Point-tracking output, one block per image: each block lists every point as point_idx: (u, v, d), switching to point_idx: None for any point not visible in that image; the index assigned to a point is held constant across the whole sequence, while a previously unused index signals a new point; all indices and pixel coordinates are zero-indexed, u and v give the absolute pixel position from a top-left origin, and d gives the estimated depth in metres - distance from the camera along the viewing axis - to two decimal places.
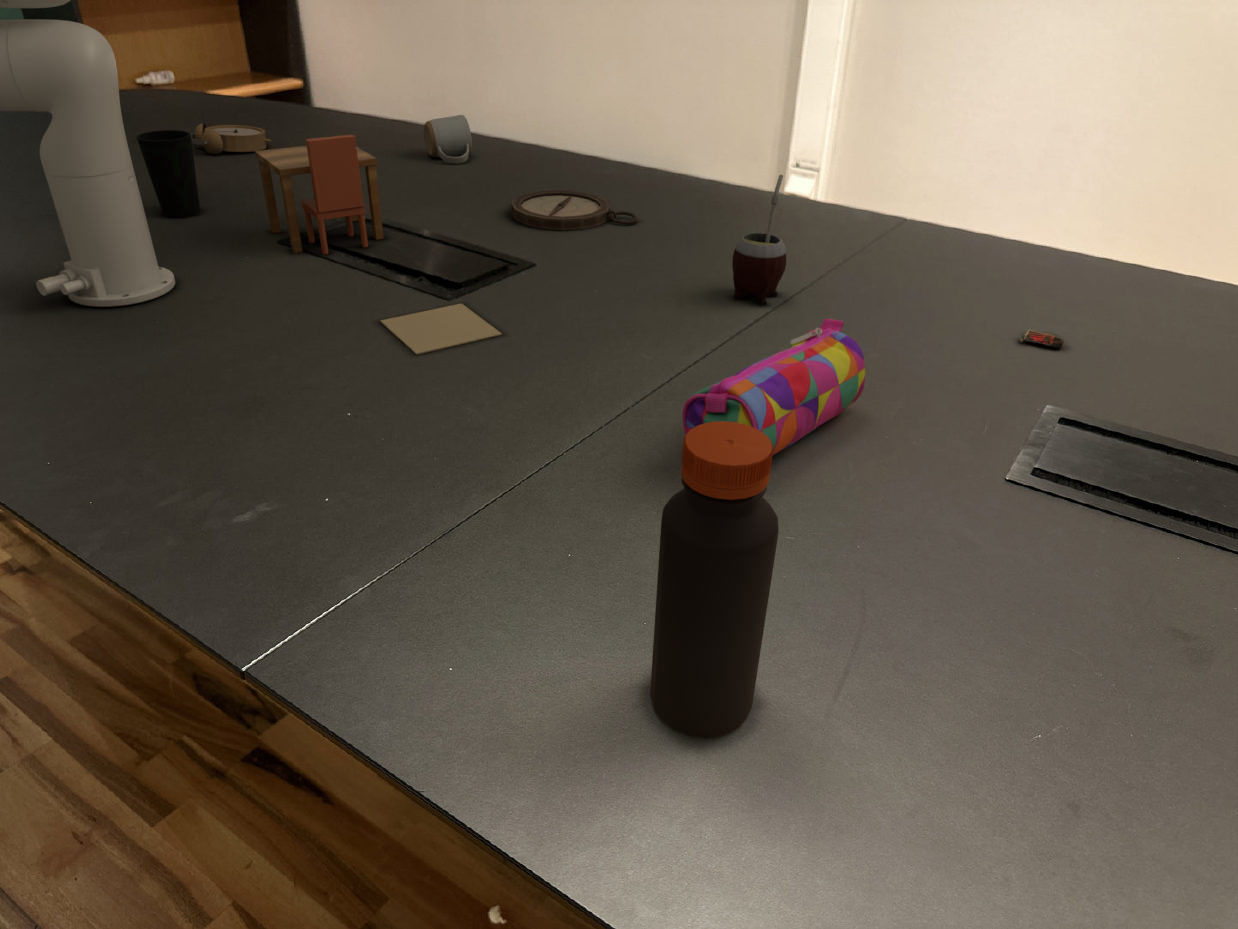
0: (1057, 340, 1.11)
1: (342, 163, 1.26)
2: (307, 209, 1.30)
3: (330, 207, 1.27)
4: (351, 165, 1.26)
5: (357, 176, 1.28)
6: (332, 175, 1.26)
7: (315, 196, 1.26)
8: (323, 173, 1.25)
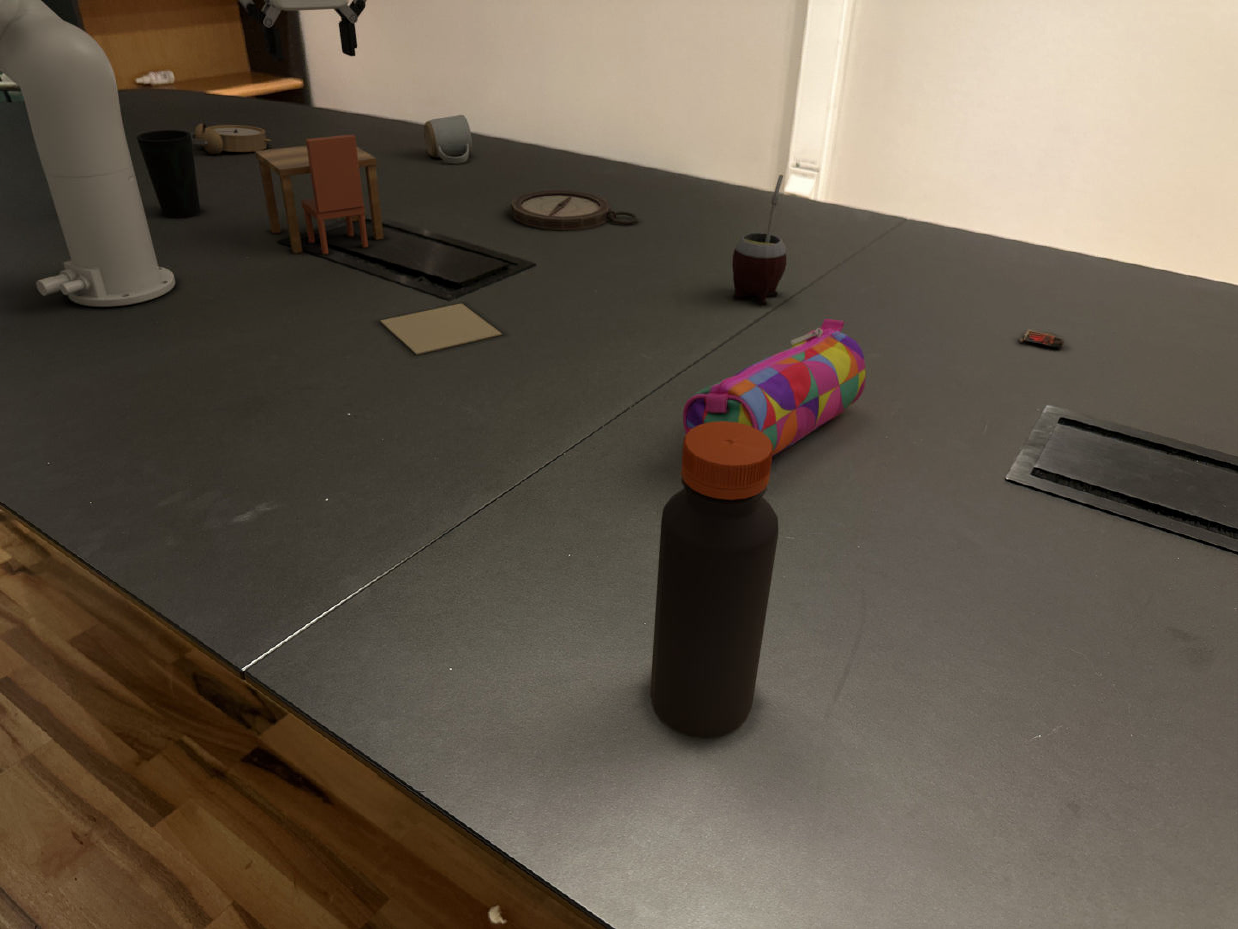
0: (1057, 340, 1.11)
1: (342, 163, 1.26)
2: (307, 209, 1.30)
3: (330, 207, 1.27)
4: (351, 165, 1.26)
5: (357, 176, 1.28)
6: (332, 175, 1.26)
7: (315, 196, 1.26)
8: (323, 173, 1.25)
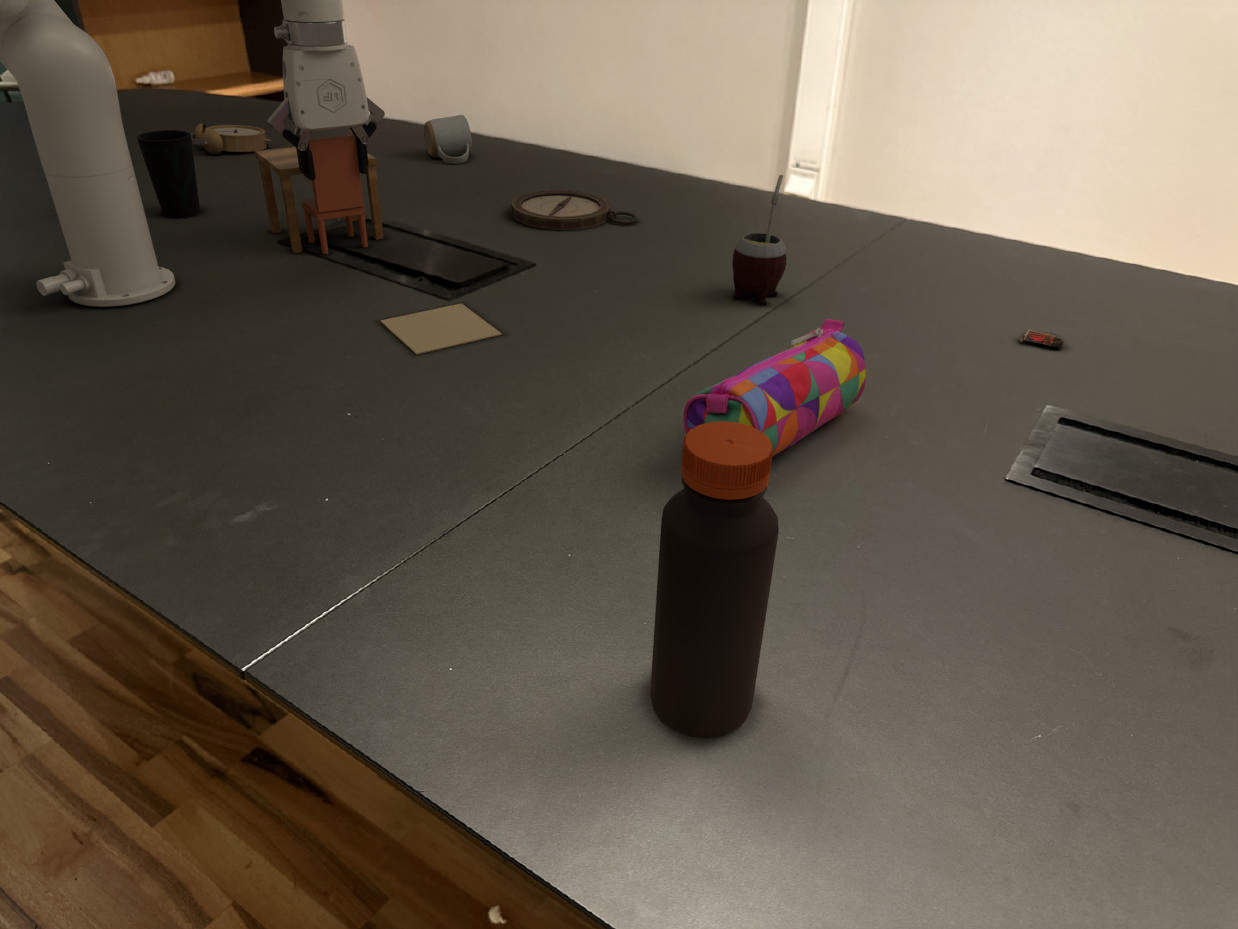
0: (1057, 340, 1.11)
1: (342, 163, 1.26)
2: (307, 209, 1.30)
3: (330, 207, 1.27)
4: (351, 165, 1.26)
5: (357, 176, 1.28)
6: (332, 175, 1.26)
7: (315, 196, 1.26)
8: (323, 173, 1.25)
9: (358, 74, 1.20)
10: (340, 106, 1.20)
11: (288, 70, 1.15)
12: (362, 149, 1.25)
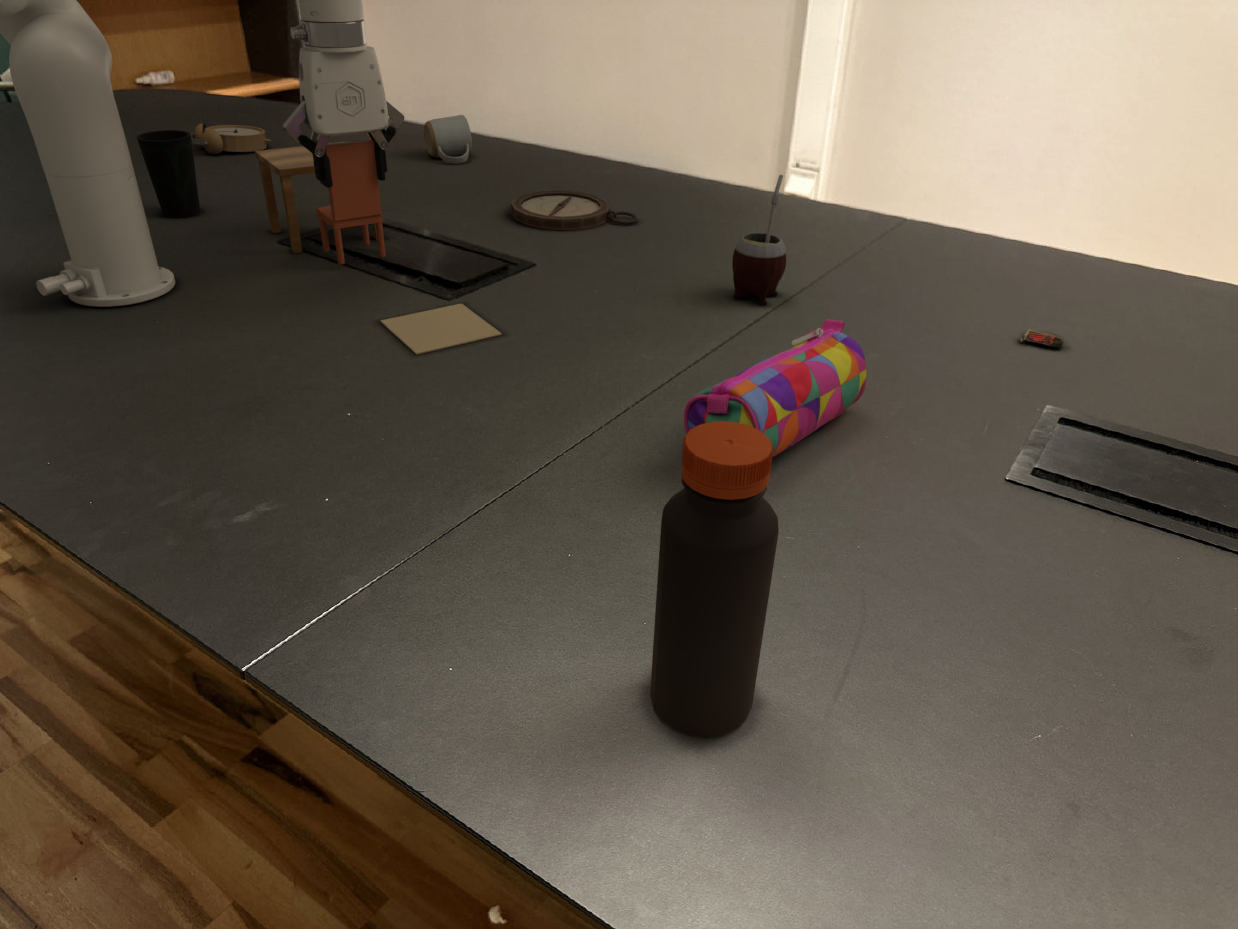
0: (1057, 340, 1.11)
1: (360, 170, 1.20)
2: (322, 217, 1.25)
3: (347, 215, 1.22)
4: (369, 171, 1.21)
5: (375, 183, 1.22)
6: (350, 182, 1.20)
7: (332, 204, 1.21)
8: (340, 180, 1.19)
9: (377, 77, 1.14)
10: (359, 110, 1.15)
11: (305, 72, 1.10)
12: (381, 155, 1.20)
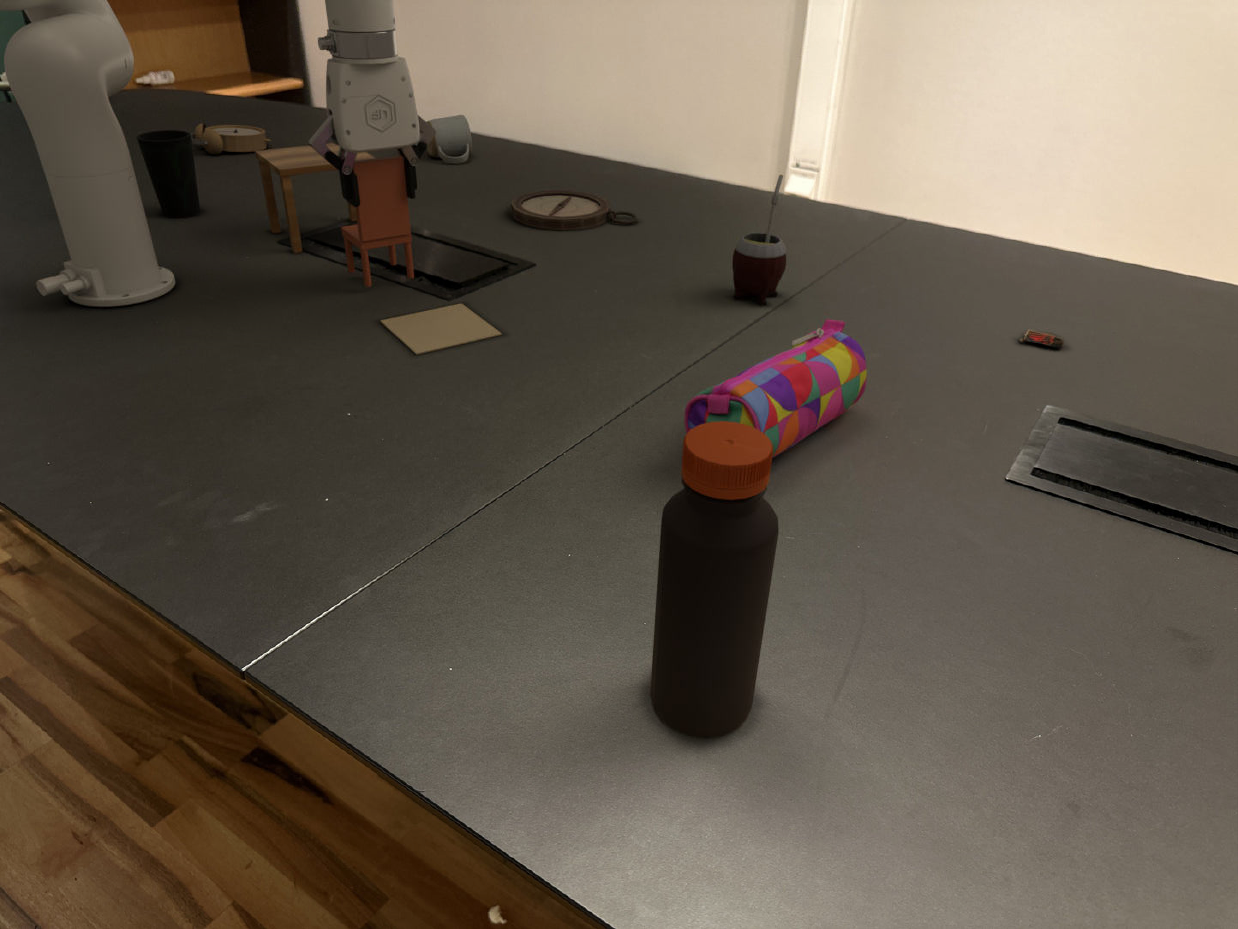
0: (1057, 340, 1.11)
1: (389, 188, 1.13)
2: (348, 237, 1.18)
3: (375, 235, 1.15)
4: (398, 189, 1.14)
5: (405, 201, 1.15)
6: (378, 201, 1.13)
7: (359, 224, 1.14)
8: (368, 198, 1.12)
9: (409, 89, 1.07)
10: (389, 125, 1.08)
11: (333, 85, 1.03)
12: (411, 172, 1.13)
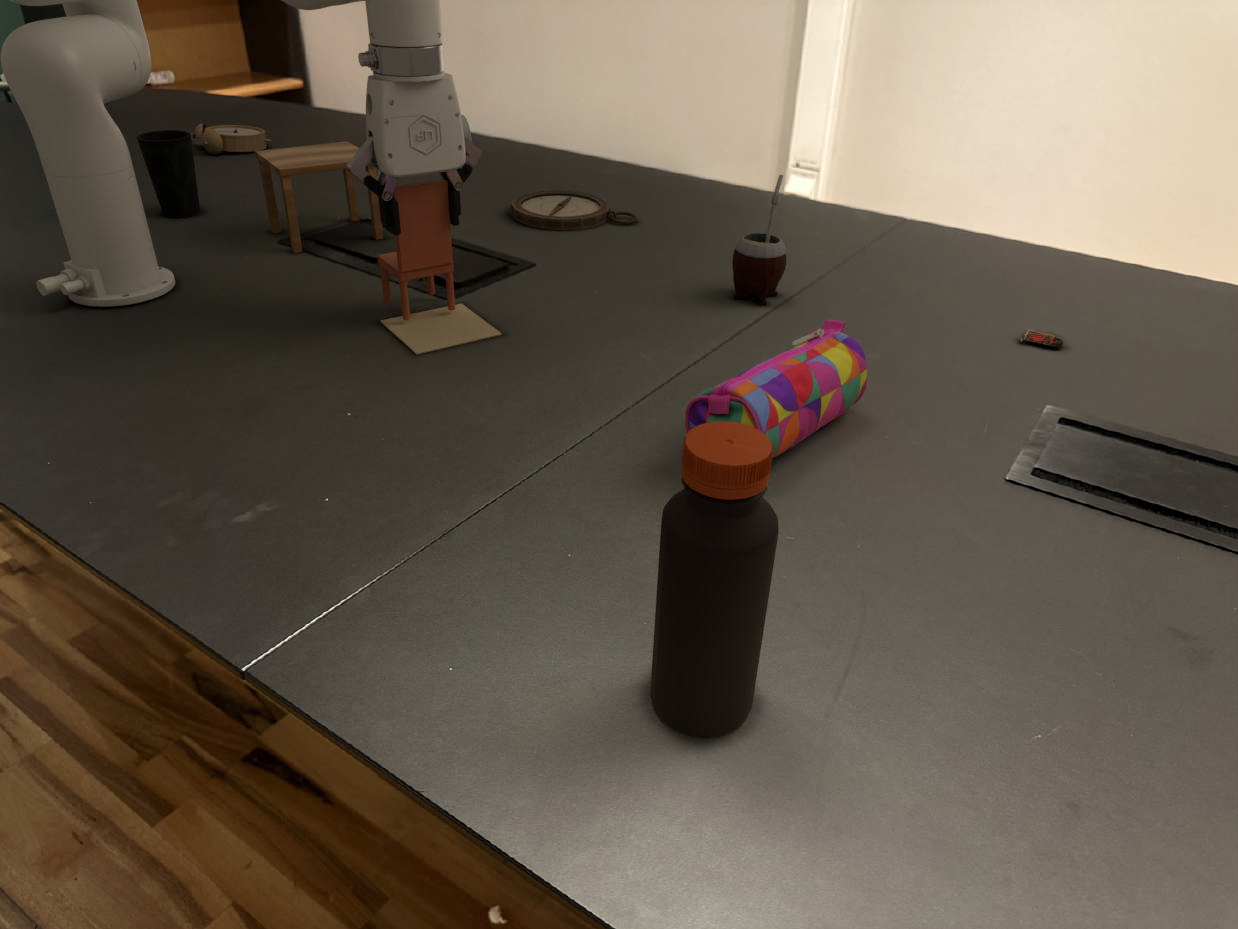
0: (1057, 340, 1.11)
1: (431, 214, 1.04)
2: (385, 266, 1.09)
3: (415, 265, 1.06)
4: (441, 215, 1.05)
5: (447, 228, 1.06)
6: (419, 228, 1.04)
7: (398, 253, 1.05)
8: (409, 226, 1.04)
9: (456, 109, 0.98)
10: (434, 147, 0.99)
11: (375, 105, 0.94)
12: (455, 197, 1.04)
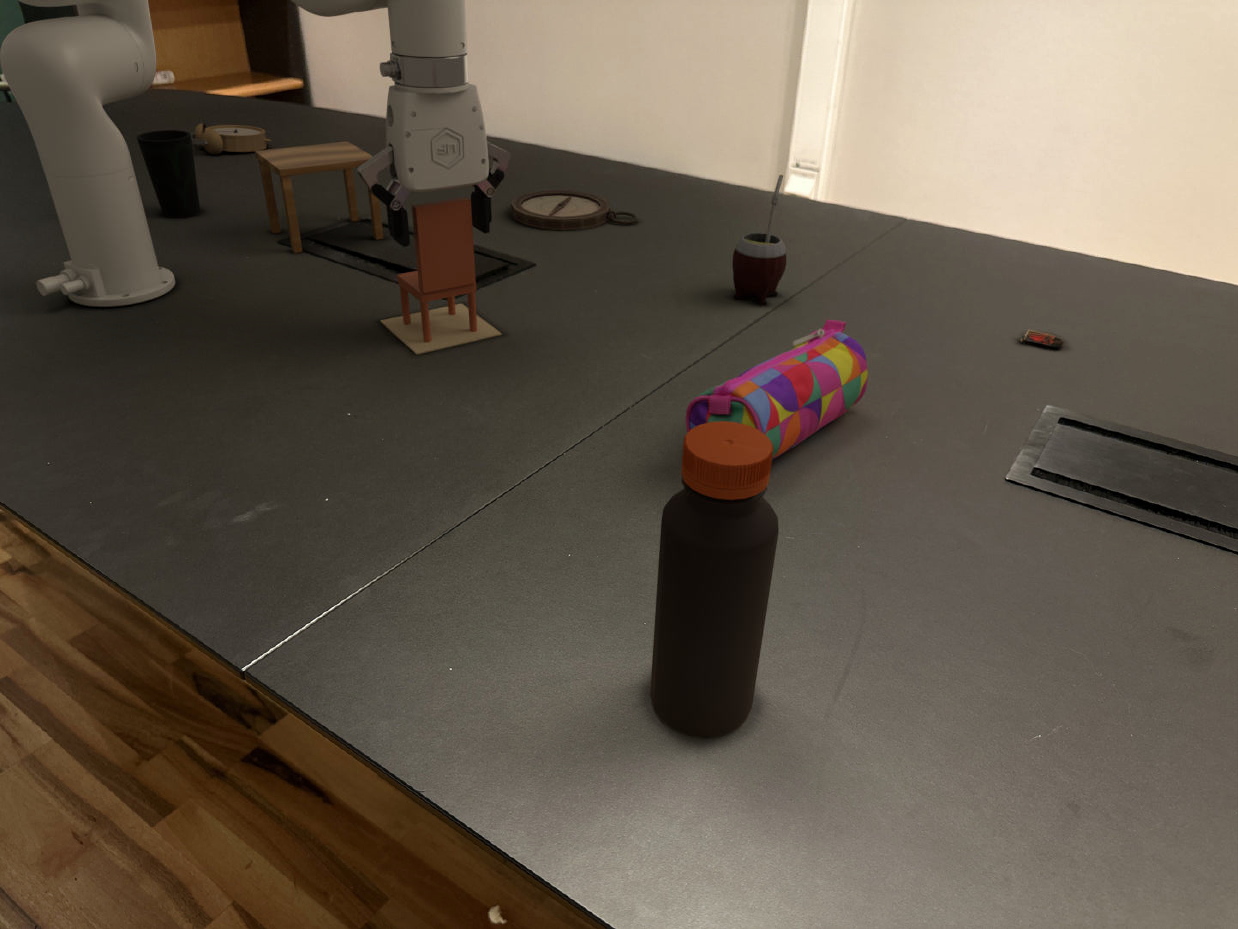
0: (1057, 340, 1.11)
1: (453, 233, 1.01)
2: (405, 286, 1.05)
3: (437, 286, 1.02)
4: (464, 235, 1.01)
5: (470, 248, 1.03)
6: (441, 248, 1.01)
7: (420, 274, 1.01)
8: (431, 246, 1.00)
9: (480, 121, 0.94)
10: (456, 161, 0.95)
11: (396, 117, 0.90)
12: (487, 203, 1.00)
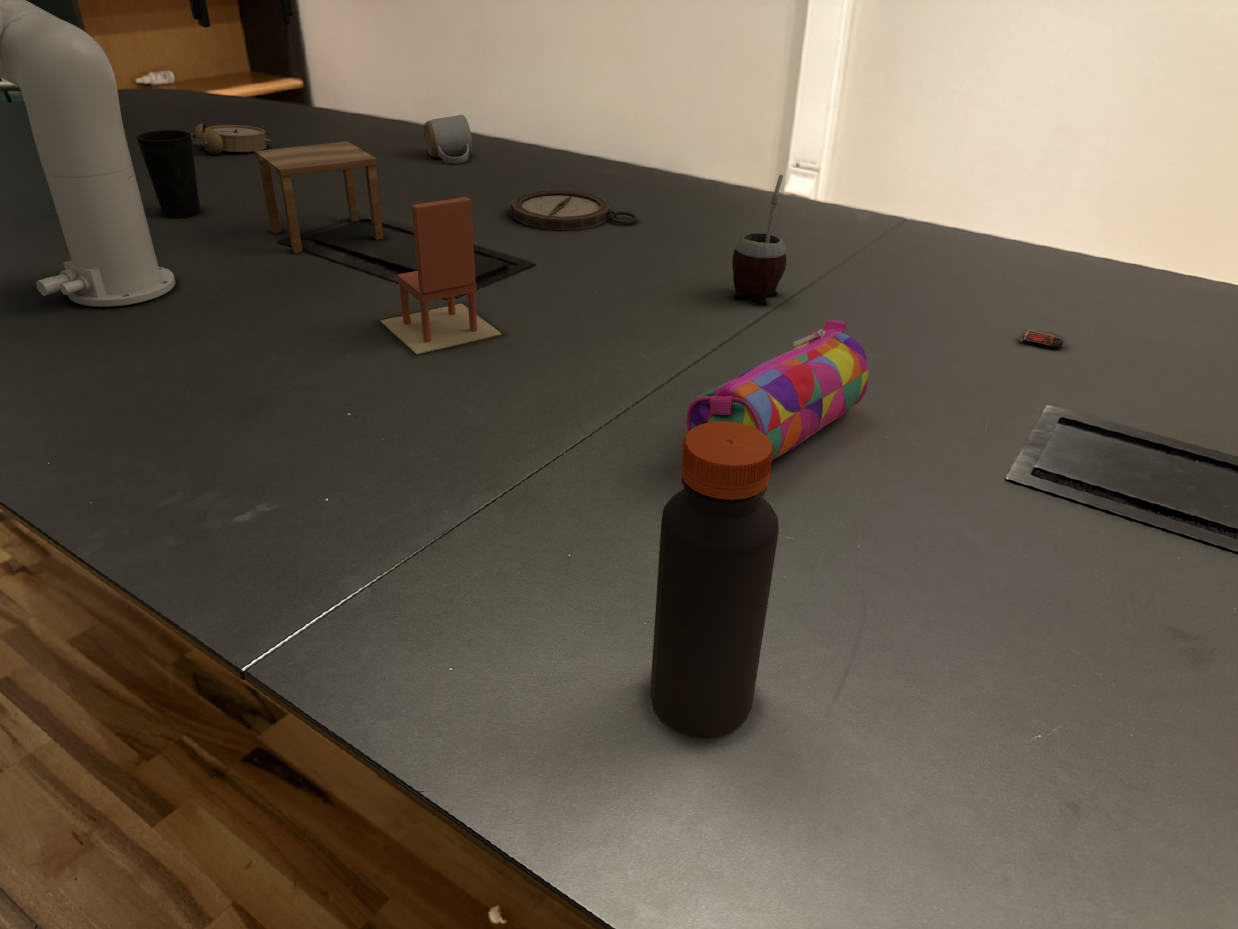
0: (1057, 340, 1.11)
1: (453, 233, 1.01)
2: (405, 286, 1.05)
3: (437, 286, 1.02)
4: (464, 235, 1.01)
5: (470, 248, 1.03)
6: (441, 248, 1.01)
7: (420, 274, 1.01)
8: (431, 246, 1.00)
9: None
10: None
11: None
12: None
